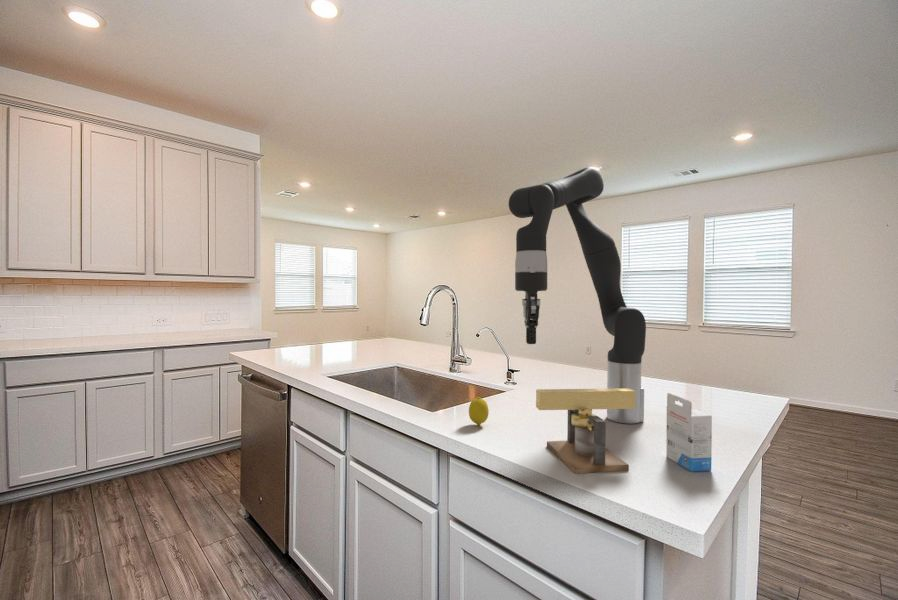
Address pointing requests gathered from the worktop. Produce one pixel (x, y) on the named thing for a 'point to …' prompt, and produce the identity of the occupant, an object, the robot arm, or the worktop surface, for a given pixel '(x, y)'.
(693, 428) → the ink box
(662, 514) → the worktop surface
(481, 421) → the lemon
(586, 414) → the yellow long bar
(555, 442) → the base
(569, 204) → the robot arm
